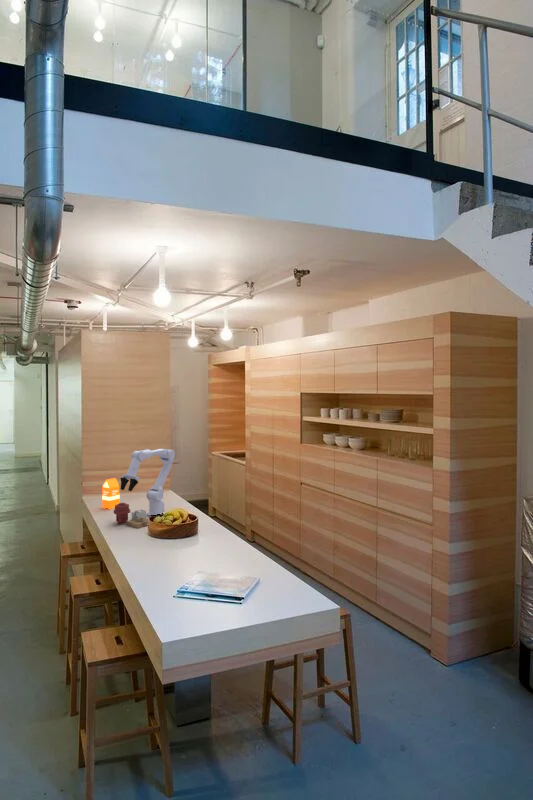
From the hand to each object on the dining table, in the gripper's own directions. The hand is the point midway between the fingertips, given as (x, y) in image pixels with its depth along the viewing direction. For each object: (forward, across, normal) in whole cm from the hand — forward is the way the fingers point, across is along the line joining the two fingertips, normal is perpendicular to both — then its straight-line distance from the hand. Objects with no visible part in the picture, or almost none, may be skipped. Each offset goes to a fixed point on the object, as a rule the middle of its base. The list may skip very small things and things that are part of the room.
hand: (125, 490), depth 324 cm
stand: (+17, +9, +11) cm, 23 cm away
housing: (+14, 0, +18) cm, 22 cm away
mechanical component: (+19, -2, +8) cm, 21 cm away
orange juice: (+9, -41, +25) cm, 49 cm away
